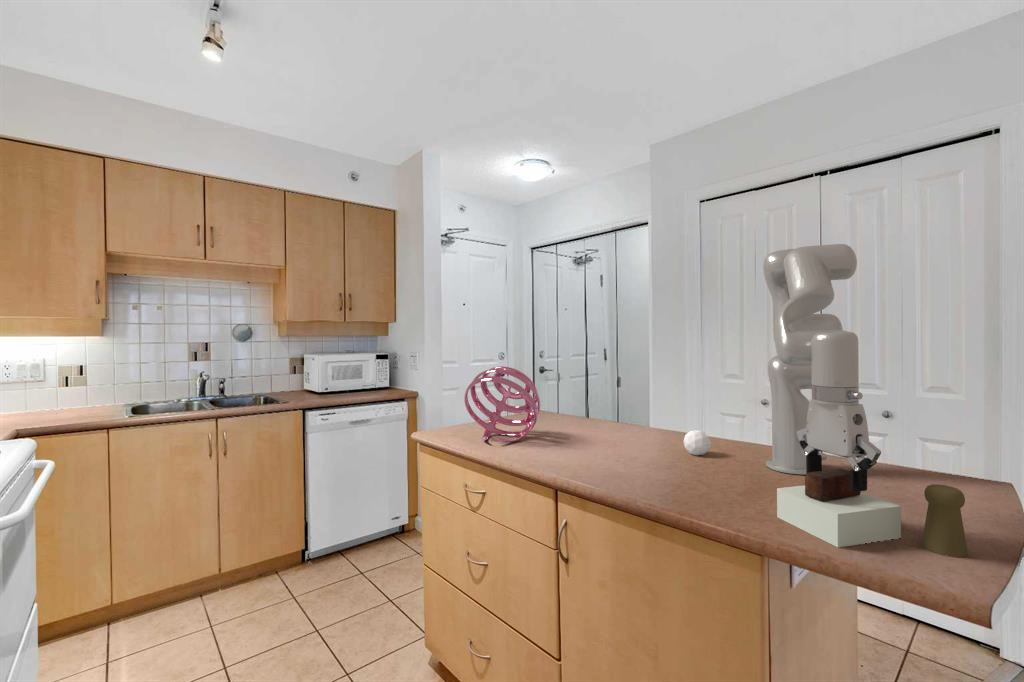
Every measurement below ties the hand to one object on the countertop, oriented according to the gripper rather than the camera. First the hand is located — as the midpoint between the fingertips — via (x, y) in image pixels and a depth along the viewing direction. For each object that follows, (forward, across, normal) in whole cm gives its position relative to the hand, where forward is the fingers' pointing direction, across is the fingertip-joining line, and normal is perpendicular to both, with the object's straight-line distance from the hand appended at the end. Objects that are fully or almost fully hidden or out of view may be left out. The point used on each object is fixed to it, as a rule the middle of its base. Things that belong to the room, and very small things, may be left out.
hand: (835, 482), depth 91 cm
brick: (+3, 0, 0) cm, 3 cm away
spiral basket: (+9, +93, +47) cm, 105 cm away
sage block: (+9, 0, 0) cm, 9 cm away
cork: (+9, -12, -10) cm, 18 cm away
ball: (+9, +54, -6) cm, 55 cm away
